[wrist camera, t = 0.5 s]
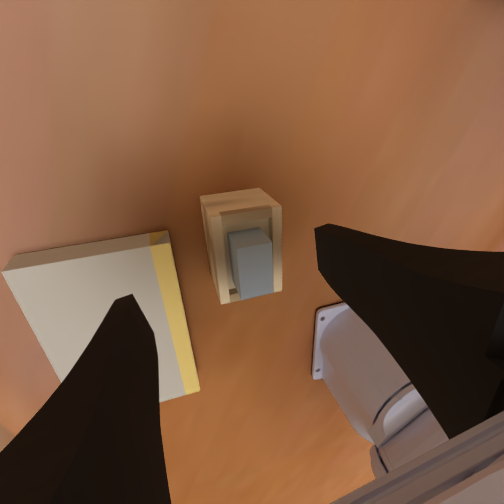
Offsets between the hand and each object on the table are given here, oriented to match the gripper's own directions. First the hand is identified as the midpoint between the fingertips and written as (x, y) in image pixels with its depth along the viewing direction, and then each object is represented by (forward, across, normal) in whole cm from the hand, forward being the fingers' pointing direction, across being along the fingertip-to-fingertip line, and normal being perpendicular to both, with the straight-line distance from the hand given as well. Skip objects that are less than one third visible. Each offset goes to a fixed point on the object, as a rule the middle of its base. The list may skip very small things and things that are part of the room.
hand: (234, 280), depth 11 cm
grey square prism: (+6, -2, +3) cm, 7 cm away
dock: (+10, +8, +8) cm, 15 cm away
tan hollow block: (+10, -2, +3) cm, 11 cm away
